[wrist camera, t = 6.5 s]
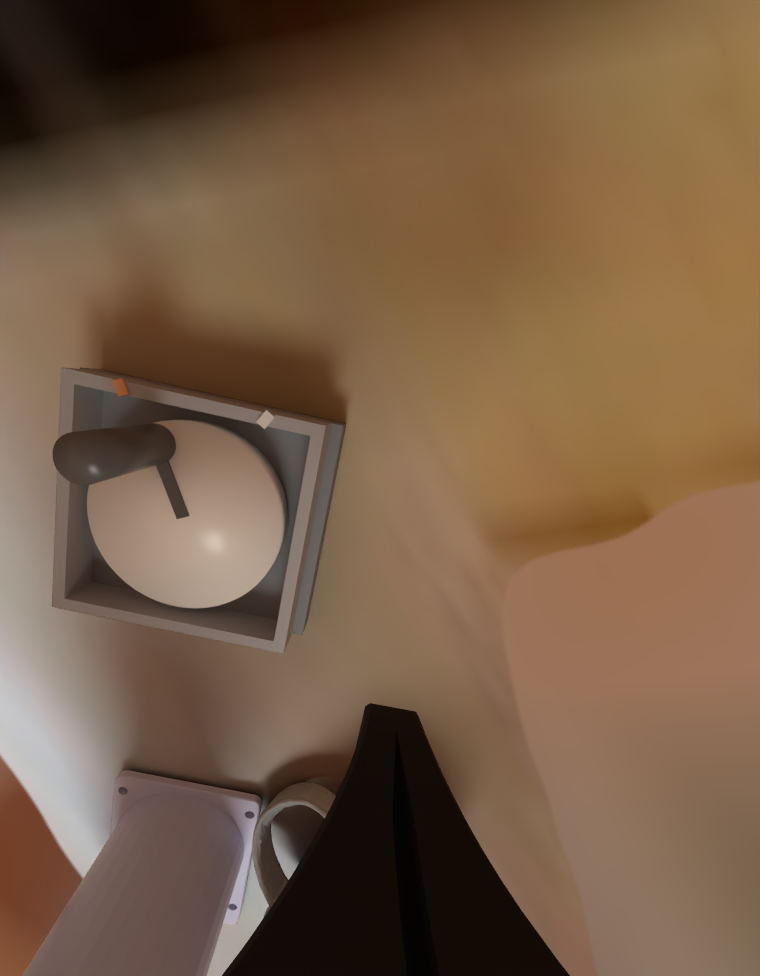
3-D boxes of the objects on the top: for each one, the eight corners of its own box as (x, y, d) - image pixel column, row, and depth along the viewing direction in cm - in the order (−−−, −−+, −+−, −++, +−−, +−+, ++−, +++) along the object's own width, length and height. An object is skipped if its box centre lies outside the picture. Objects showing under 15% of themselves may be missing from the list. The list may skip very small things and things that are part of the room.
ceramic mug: (463, 840, 23) (497, 1051, 16) (375, 921, 25) (367, 1149, 17) (315, 739, 22) (276, 915, 15) (232, 830, 24) (157, 1031, 16)
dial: (310, 574, 18) (282, 640, 13) (145, 614, 19) (59, 691, 14) (253, 396, 16) (196, 397, 11) (73, 446, 17) (-54, 466, 12)
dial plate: (307, 621, 20) (294, 657, 17) (87, 575, 20) (38, 605, 17) (346, 421, 18) (338, 425, 15) (100, 366, 18) (45, 361, 15)
